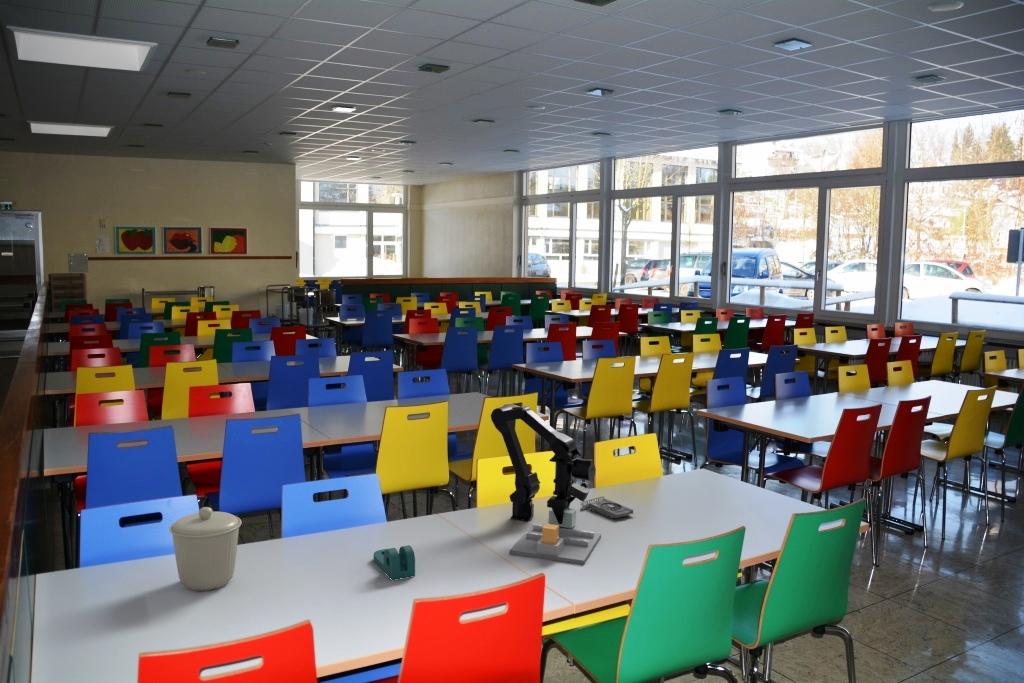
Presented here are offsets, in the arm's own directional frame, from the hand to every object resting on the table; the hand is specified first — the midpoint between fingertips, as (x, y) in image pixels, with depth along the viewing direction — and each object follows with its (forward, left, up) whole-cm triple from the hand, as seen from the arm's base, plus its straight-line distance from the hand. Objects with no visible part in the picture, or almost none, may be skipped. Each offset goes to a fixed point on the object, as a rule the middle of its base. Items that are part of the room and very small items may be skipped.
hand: (562, 521), depth 266 cm
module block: (0, 0, -1) cm, 1 cm away
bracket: (-37, -52, -2) cm, 64 cm away
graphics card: (+11, +19, -2) cm, 22 cm away
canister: (-78, -80, -2) cm, 112 cm away
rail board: (+3, -17, -2) cm, 17 cm away
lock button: (+3, -26, +2) cm, 26 cm away
